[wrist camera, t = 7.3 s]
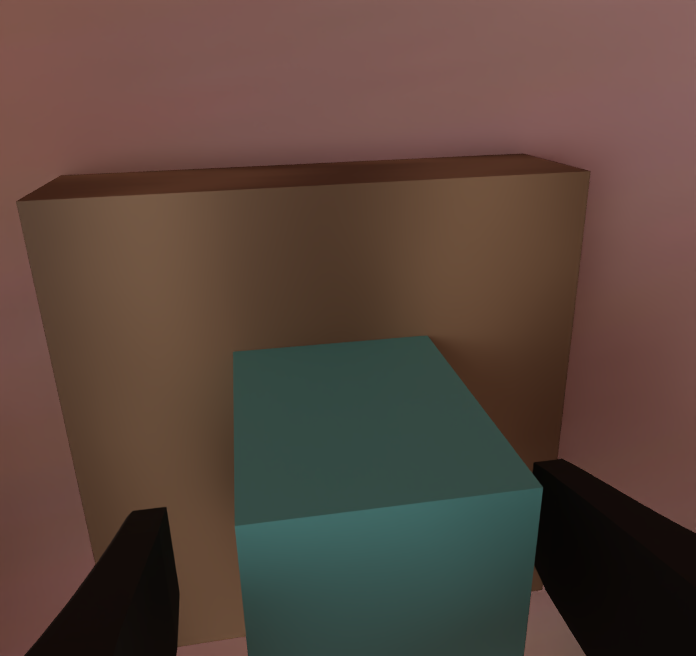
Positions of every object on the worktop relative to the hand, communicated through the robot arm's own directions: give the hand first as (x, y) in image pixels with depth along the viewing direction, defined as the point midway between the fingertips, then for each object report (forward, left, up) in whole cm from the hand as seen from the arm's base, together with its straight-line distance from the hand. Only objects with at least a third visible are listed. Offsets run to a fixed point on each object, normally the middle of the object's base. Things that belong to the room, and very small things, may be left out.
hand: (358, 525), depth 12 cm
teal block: (0, 0, -3) cm, 3 cm away
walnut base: (0, 0, -7) cm, 7 cm away
